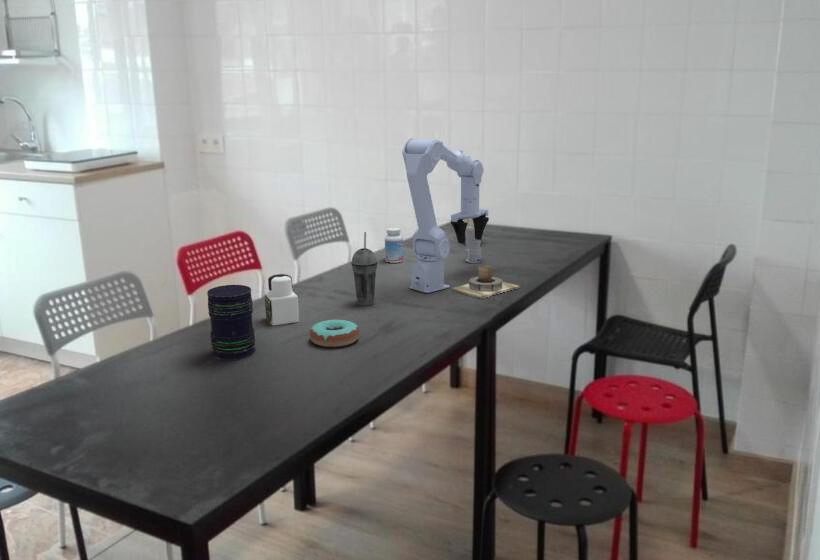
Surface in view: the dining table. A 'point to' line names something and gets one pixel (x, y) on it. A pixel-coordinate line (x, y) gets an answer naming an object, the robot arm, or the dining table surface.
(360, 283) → the beverage cup
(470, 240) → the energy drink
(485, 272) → the walnut peg
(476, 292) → the socket board
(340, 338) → the donut
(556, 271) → the dining table surface
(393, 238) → the pill bottle
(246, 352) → the storage jar
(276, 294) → the white handled container
